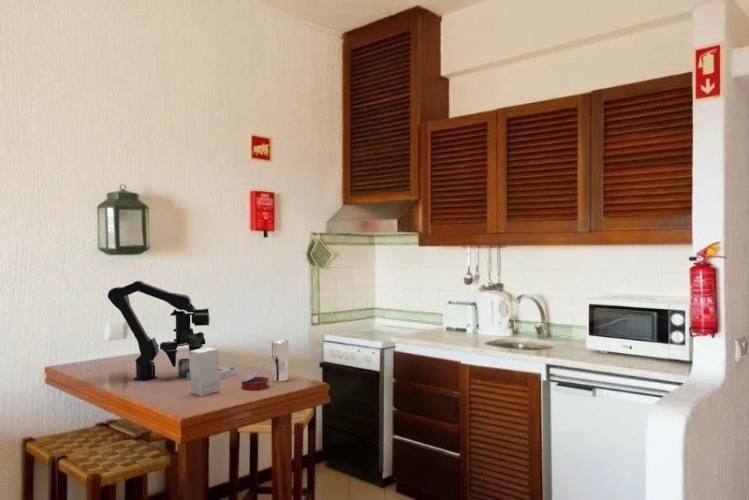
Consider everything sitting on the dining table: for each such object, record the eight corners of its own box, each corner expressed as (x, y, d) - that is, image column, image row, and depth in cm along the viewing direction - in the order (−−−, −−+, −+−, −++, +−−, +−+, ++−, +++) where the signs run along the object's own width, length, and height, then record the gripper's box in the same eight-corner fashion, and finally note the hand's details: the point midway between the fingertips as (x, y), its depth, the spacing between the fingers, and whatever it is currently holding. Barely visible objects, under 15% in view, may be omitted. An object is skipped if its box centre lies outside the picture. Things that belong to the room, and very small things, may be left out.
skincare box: (209, 389, 218) (209, 346, 218) (220, 391, 214) (220, 348, 214) (189, 393, 212) (189, 350, 212) (200, 396, 207) (199, 351, 207)
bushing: (183, 378, 238) (183, 360, 238) (176, 377, 240) (175, 359, 240) (192, 376, 242) (191, 358, 242) (184, 375, 244) (184, 357, 244)
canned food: (259, 403, 216) (252, 381, 211) (239, 397, 221) (231, 376, 216) (278, 383, 224) (272, 362, 219) (258, 377, 229) (251, 357, 225)
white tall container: (285, 382, 228) (285, 343, 228) (268, 381, 229) (268, 342, 229) (291, 378, 235) (291, 340, 235) (275, 377, 236) (274, 340, 236)
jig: (207, 381, 231) (207, 374, 231) (186, 378, 237) (186, 371, 237) (237, 374, 244) (237, 367, 244) (217, 371, 251) (217, 364, 251)
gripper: (177, 330, 229) (178, 370, 229) (214, 324, 245) (215, 362, 245) (158, 328, 235) (159, 368, 235) (196, 323, 250) (196, 360, 250)
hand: (183, 364), depth 241 cm, fingers open, 9 cm apart
